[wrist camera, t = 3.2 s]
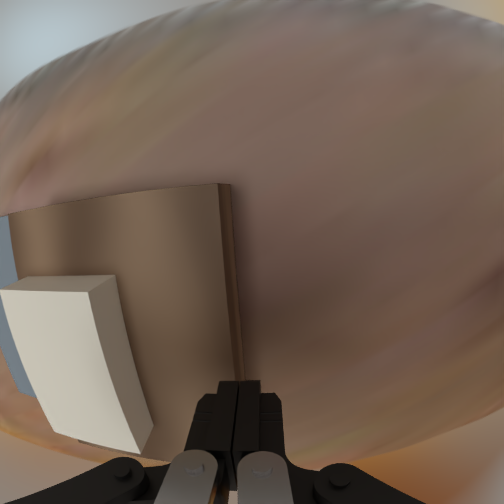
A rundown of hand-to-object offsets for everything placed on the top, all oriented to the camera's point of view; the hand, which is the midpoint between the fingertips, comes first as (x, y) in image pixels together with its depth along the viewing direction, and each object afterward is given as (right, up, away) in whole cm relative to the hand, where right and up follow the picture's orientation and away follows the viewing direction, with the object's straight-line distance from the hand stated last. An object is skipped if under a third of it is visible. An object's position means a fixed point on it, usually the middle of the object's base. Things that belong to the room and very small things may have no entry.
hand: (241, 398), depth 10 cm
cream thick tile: (-8, 0, +3) cm, 9 cm away
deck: (-6, +1, +7) cm, 9 cm away
